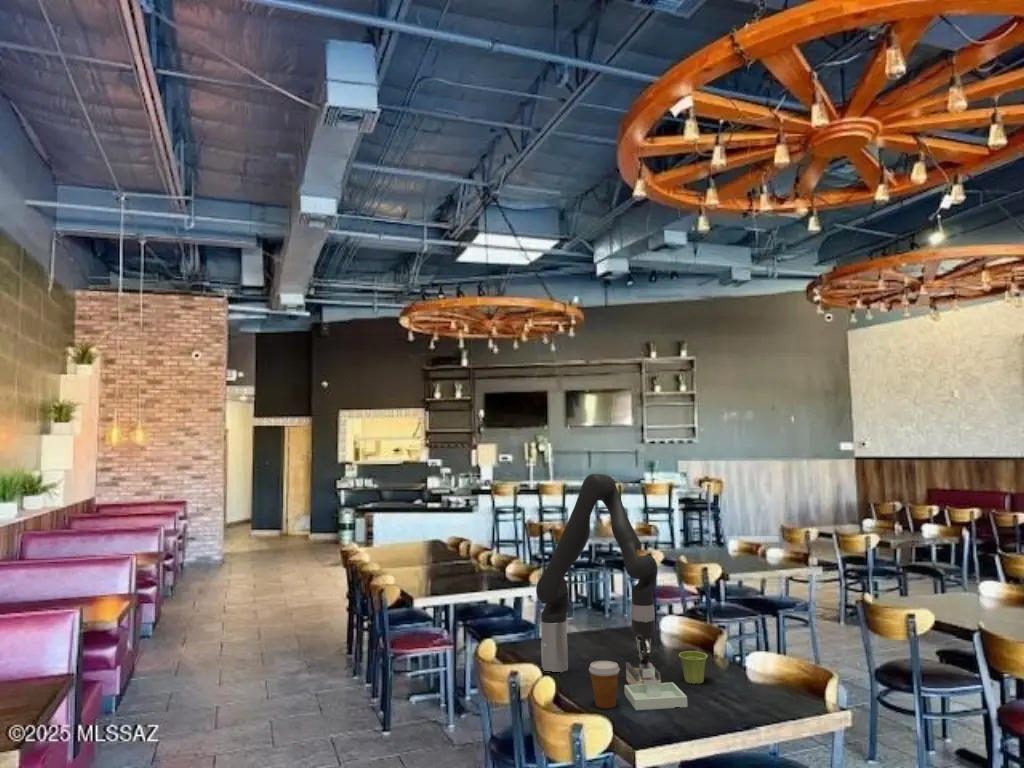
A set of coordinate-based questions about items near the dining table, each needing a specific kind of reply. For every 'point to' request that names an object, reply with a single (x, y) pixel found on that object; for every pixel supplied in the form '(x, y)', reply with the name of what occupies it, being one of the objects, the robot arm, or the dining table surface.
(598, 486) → the robot arm
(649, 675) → the light grey cube
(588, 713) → the dining table surface
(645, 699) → the tray
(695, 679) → the plant pot
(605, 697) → the disposable coffee cup
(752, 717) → the dining table surface
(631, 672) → the slot board
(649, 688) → the pale grey cube
